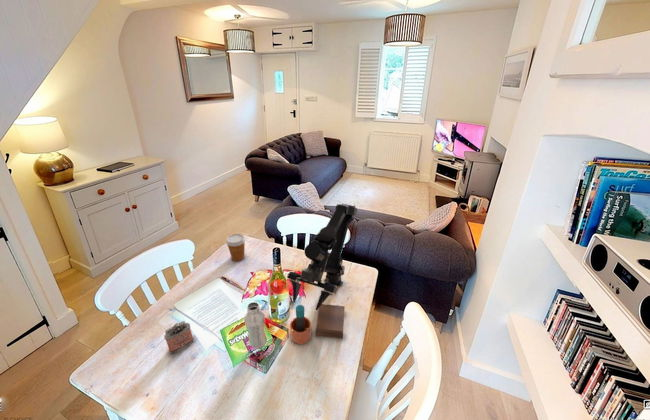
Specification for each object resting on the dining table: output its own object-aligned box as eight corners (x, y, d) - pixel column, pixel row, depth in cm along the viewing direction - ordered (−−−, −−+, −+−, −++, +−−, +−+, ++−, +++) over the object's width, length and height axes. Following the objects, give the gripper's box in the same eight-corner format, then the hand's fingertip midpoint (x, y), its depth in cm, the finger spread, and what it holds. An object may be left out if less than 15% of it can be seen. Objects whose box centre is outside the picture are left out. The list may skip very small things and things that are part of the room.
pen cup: (304, 323, 104) (304, 313, 101) (314, 337, 98) (314, 326, 96) (287, 332, 100) (286, 322, 98) (296, 347, 94) (296, 336, 92)
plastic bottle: (264, 359, 90) (259, 315, 82) (245, 355, 91) (238, 312, 83) (271, 342, 96) (267, 300, 87) (253, 339, 97) (247, 297, 88)
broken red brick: (192, 335, 98) (186, 315, 94) (195, 341, 96) (190, 321, 92) (168, 349, 93) (160, 329, 89) (171, 356, 91) (164, 335, 86)
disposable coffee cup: (225, 261, 138) (221, 242, 133) (234, 251, 147) (231, 232, 141) (242, 264, 137) (239, 244, 132) (250, 253, 145) (248, 234, 140)
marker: (302, 329, 101) (301, 303, 95) (306, 335, 99) (305, 309, 93) (295, 333, 99) (294, 307, 94) (299, 339, 97) (298, 312, 91)
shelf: (319, 311, 110) (319, 303, 108) (344, 313, 109) (344, 306, 107) (315, 336, 99) (315, 328, 97) (342, 339, 98) (343, 331, 96)
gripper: (288, 253, 98) (273, 296, 93) (336, 267, 91) (322, 314, 87) (299, 259, 108) (286, 298, 103) (343, 272, 101) (330, 314, 97)
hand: (304, 306), depth 97 cm, fingers open, 9 cm apart
